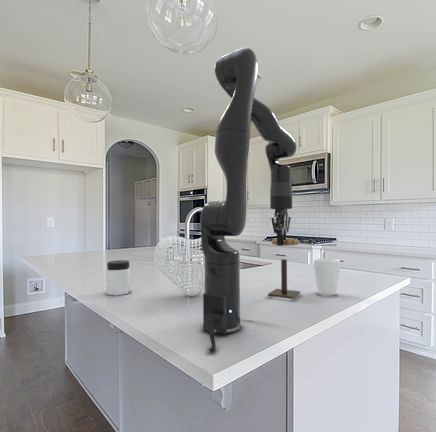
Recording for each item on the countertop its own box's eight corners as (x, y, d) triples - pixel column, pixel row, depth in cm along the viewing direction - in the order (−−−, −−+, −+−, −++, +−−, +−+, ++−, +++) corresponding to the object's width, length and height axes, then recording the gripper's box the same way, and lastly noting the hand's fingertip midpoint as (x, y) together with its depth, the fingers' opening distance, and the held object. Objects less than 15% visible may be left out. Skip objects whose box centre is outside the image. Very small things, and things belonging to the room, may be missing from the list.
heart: (228, 290, 122) (228, 234, 122) (232, 300, 106) (232, 236, 106) (157, 291, 120) (157, 234, 120) (150, 302, 104) (150, 237, 104)
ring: (294, 246, 103) (294, 240, 103) (267, 245, 108) (267, 239, 108) (302, 243, 111) (302, 238, 111) (277, 242, 116) (277, 238, 116)
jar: (126, 289, 124) (126, 259, 124) (133, 293, 118) (133, 261, 118) (103, 292, 119) (103, 261, 119) (109, 296, 112) (109, 264, 112)
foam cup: (345, 295, 112) (345, 260, 112) (329, 299, 107) (329, 262, 107) (324, 290, 120) (323, 257, 120) (308, 294, 115) (308, 259, 115)
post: (292, 301, 105) (292, 261, 105) (268, 297, 109) (267, 260, 110) (300, 295, 113) (299, 258, 113) (276, 292, 117) (276, 257, 117)
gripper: (277, 196, 114) (278, 243, 114) (263, 194, 102) (263, 246, 102) (297, 196, 110) (298, 244, 110) (285, 193, 98) (285, 247, 98)
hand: (281, 245), depth 106 cm, fingers closed on ring, 2 cm apart
